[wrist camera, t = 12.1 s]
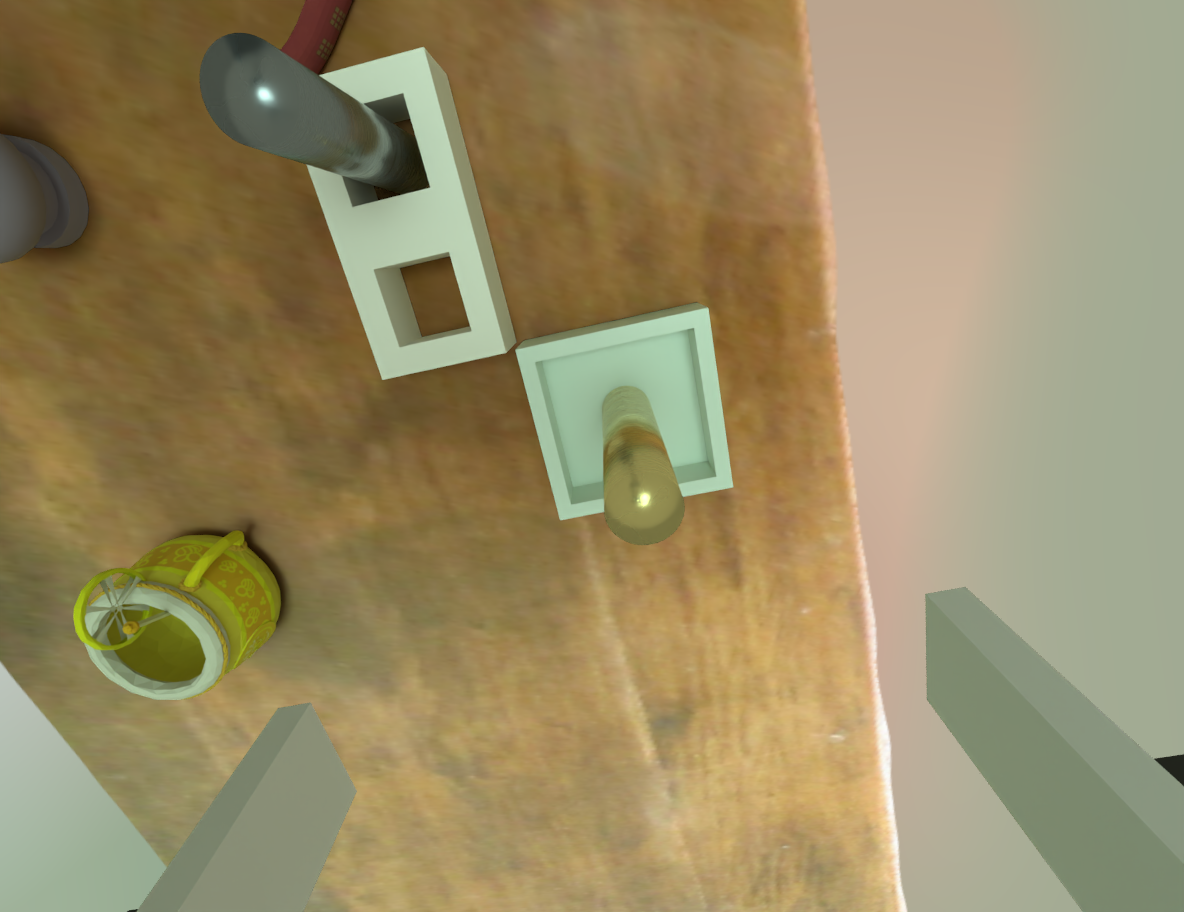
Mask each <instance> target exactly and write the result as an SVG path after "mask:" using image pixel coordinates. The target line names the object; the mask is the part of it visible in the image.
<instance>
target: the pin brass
mask: <svg viewBox="0 0 1184 912" xmlns="http://www.w3.org/2000/svg"><path fill="white" fill-rule="evenodd" d="M602 431H603V481H604V515H605V519H606V522H607V524H608V526H609V528H610V529H611V530H612V532H613V533H614V534H615V535H616V536H618V537H619V538H621V539H622V540H624V541H626V542H629V543H632V544H637V545H649V544H654V543H658V542H660V541H663V540H665V539H666V538H668V537H669V536H671V535H672V534H673V533H674V532H675V531H676V530H677V528H678V527H679V525H680V523H681V521H682V519H683V516H684V508H685V506H684V500H683V496H682V493H681V490H680V488H679V485H678V482H677V479H676V476H675V473H674V470H673V467H672V465H671V462H670V459H669V456H668V453H667V450H666V447H665V444H664V442H663V439H662V436H661V433H660V430H659V427H658V424H657V421H656V419H655V416H654V413H653V410H652V407H651V404H650V401H649V399H648V397H647V396H646V394H645V393H644V392H643V391H642V390H640V389H638V388H636V387H633V386H620V387H617V388H615V389H613V390H612V391H611V392H610V393H609V394H608V395H607V396H606V398H605V399H604V402H603V405H602Z"/></svg>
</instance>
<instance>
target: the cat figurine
mask: <svg viewBox="0 0 1184 912" xmlns="http://www.w3.org/2000/svg"><path fill="white" fill-rule="evenodd" d="M88 213H89V207H88V202H87V197H86V192H85V190H84V188H83V186H82V183H81V181H80V179H79V177H78V175H77V174H76V173H75V171H74V170H73V169H72V168H71V166H70V165H69V164H68V162H67V161H66V160H65V159H64V158H62V157H61V156H60V155H59V154H57V153H56V152H55V151H54V150H52V149H51V148H50V147H48V146H45V145H43V144H41V143H39V142H36V141H34V140H30V139H26V138H21V137H16V136H11V135H3V134H1V133H0V263H4V262H9V261H13V260H16V259H19V258H21V257H22V256H23V255H25V254H26V253H27V252H28V251H30V250H31V249H32V248H33V247H34V248H59V247H63V246H67V245H70V244H72V243H73V242H74V241H76V240H77V239H78V238H80V237H81V235H82V233H83V231H84V229H85V227H86V226H87V221H88Z"/></svg>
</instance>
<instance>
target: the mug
mask: <svg viewBox="0 0 1184 912" xmlns="http://www.w3.org/2000/svg"><path fill="white" fill-rule="evenodd" d="M115 573H124V574H123V575H122V576H121V577H120V578H118V579H117V580H116V581H115V582H114V584H113V582H112V575H113V574H115ZM106 582H107V584H108V586H109V588H107V584H106ZM99 583H100V584H101V586H102V588H103V590H104V591H103V592H101V593H99V594H98V595H97V596H95V598H94V599H93V600H92V601H91V602H90V604H89V605H87V601H88V598H89V596H90V594H91V593H92V591H93V589H94V588H95V587H96V586H97V585H98V584H99ZM280 607H281V596H280V589H279V586H278V584H277V581H276V579H275V576H274V575H273V573H272V572H271V571H270V569H269V568H268V566H267V565H266V564H265V563H264V562H263V561H262V560H261V559H260V558H259V557H258V556H257V555H256V554H255V553H254V552H253V551H252V550H251V549H249V548H248V547H247V543H246V542H245V541H244V534H243V532H242V531H238V530H236V531H232V532H231V533H229V534H228V535H226V536H225V537H220V536H214V535H186V536H182V537H178V538H175V539H172V540H169V541H166V542H164V543H163V544H161V545H159V546H157V547H156V548H154V549H152V550H151V551H150V552H148V553H147V554H146V555H144V556H143V557H142V558H141V559H140V560H139V561H138V562H136V563H135V564H134V565H133V566H132V567H131V568H130V569H128V568H116V569H110V570H107V571H104V572H102V573H99V574H98V575H96V576H95V577H93V578H92V579H91V580H90V582H89V583H88V584H87V585H86V586H85V587H84V588H83V589H82V590H81V593H80V595H79V597H78V600H77V602H76V604H75V607H74V624H75V629H76V632H77V634H78V636H79V638H80V639H81V641H83V642H84V643H85V646H86V648H87V651H88V653H89V656H90V658H91V660H92V661H93V662H94V663H95V665H96V666H97V667H98V668H99V669H100V670H101V671H102V672H103V673H104V675H105V676H106V677H107V678H108V679H110V680H112V681H113V682H115V683H117V684H118V685H120V686H122V687H123V688H125V689H126V690H128V691H130V692H132V693H135V694H139V695H142V696H145V697H149V698H152V699H156V700H182V699H189V698H193V697H196V696H199V695H201V694H203V693H205V692H207V691H209V690H211V689H212V688H213V687H215V686H216V685H217V684H218V683H219V681H220V680H221V679H222V677H223V676H224V675H225V674H227V673H228V672H229V671H231V670H232V669H235V668H237V667H238V666H239V665H240V664H241V663H242V662H244V661H245V660H246V659H247V658H248V657H249V658H250V657H251V656H252V655H253V654H254V652H255V651H256V650H258V649H259V648H260V647H261V646H262V645H263V644H264V643H265V642H266V641H267V640H268V639H269V638H270V637H271V636H272V634H273V633H274V631H275V628H276V622H277V620H278V617H279V613H280Z"/></svg>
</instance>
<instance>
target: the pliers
mask: <svg viewBox="0 0 1184 912" xmlns="http://www.w3.org/2000/svg"><path fill="white" fill-rule="evenodd" d="M351 3H352V0H306V1H305V4H304V6H303V9H302V12H301V14H300V17H299V19H298V22H297V24H296V26H295V28H294V30H293V32H292V34H291V36H290V37H289V39H288V41H287V42H286V43H285V45H284V46H283V48H282V49H281V50H280V51H282V52H284V53H285V54H287V55H288V56H290V57H291V58H293V59H294V60H296V61H297V62H299V63H301V64H302V65H304V66H305V67H307V68H308V69H310V70H311V71H313V72H314V73H316V74H319V72H320V71H321V69H322V68H323V66H324V64H325V63H326V61H327V59H328V58H329V56H330V54H331V52H332V50H333V48H334V45H335V43H336V40H337V38H338V35H339V33H340V30H341V28H342V25H343V23H344V20H345V18H346V15H347V13H348V10H349V8H350V5H351Z"/></svg>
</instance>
